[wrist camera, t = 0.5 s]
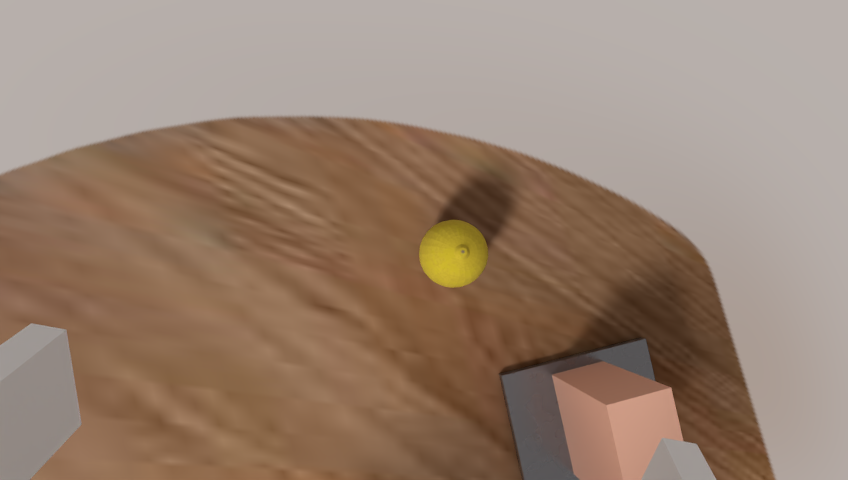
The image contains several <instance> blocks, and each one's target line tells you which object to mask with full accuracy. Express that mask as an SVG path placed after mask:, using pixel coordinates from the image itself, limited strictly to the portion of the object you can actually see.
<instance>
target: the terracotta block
mask: <svg viewBox="0 0 848 480" xmlns="http://www.w3.org/2000/svg"><path fill="white" fill-rule="evenodd" d="M552 378H553V383H554V387H555V392H556V396H557V400H558V405H559V409H560V414H561V418H562V423H563V427H564V432H565V436H566V441H567V445H568V450H569V454H570V459H571V463H572V468H573V472H574V475H575V476H576V477H577V478H579V479H580V480H641V479H642V477H643V475H644V473H645V471H646V469H647V467H648V465H649V463H650V461H651V459H652V457H653V455H654V453H655V451H656V449H657V447H658V445H659V443H660V441H661V439H662V438H667V439H673V440H678V441H683V437H682V432H681V428H680V424H679V419H678V415H677V411H676V406H675V402H674V398H673V393H672V389H671V387H669V386H666V385H663V384H661V383H658V382H656V381H653V380H651V379H648V378H645V377H643V376H640V375H638V374H635V373H632V372H630V371H627V370H625V369H622V368H620V367H617V366H614V365H612V364H609V363H607V362H604V361H602V362H598V363H594V364H590V365H586V366H583V367H579V368H575V369H571V370H567V371H563V372H560V373H556V374H552Z"/></svg>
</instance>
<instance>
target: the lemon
mask: <svg viewBox="0 0 848 480" xmlns="http://www.w3.org/2000/svg"><path fill="white" fill-rule="evenodd" d="M419 257H420V263H421V266H422V268H423V270H424V272H425V273H426V274H427V276H428V277H429V278H430V279H431V280H433V281H434V282H435V283H437V284H440V285H442V286H445V287H451V288H453V287H462V286H465V285H467V284H470V283H471V282H473V281H474V280H476V279H477V278H478V277H479V276H480V274H481V273H482V272H483V270H484V268H485V266H486V263H487V259H488V248H487V244H486V241H485V239H484V237H483V235H482V234H481V232H480V231H479V230H478V229H477V228H476V227H474V226H472V225H471V224H469V223H467V222H464V221H461V220H448V221H443V222H440V223H438V224H436V225H434V226H433V227H432V228H431V229H430V230H429V231H427V233H426V234H425V236H424V237H423V239H422V242H421V245H420V250H419Z"/></svg>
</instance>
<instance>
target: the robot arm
mask: <svg viewBox="0 0 848 480" xmlns="http://www.w3.org/2000/svg"><path fill="white" fill-rule="evenodd" d="M80 425H81V418H80V412H79V405H78V399H77V393H76V387H75V381H74V374H73V368H72V362H71V356H70V350H69V343H68V337H67V331H66V330H65V329H60V328H54V327H48V326H43V325H37V324H32V323H31V324H30V325H28V326H27V327H26V328H24V329H23V330H21V331H20V332H19V333H17V334H16V335H14V336H13V337H11V338H10V339H9V340H7V341H6V342H4V343H3V344H2V345H0V480H30V479H31V478H32V477H33V476H34V475H35V474H36V472H37V471H38V470H39V469H40V468H41V467H42V466H43V465H44V464H45V463H46V462H47V461H48V460H49V459H50V457H51V456H52V455H53V454H54V453H55V452H56V451H57V450H58V449H59V448H60V447H61V446H62V445H63V444H64V443H65V441H66V440H67V439H68V438H69V437H70V436H71V435H72V434H73V433H74V432H75V431H76V430H77V429H78V428H79V427H80ZM641 480H716V478H715V476H714V475H713V473H712V471H711V469H710V467H709V465H708V464H707V462H706V460H705V458H704V456H703V455H702V453H701V451H700V449H699V447H698V445H697V444H695V443H689V442H684V441H678V440H673V439H667V438H662V439H661V441H660V443H659V445H658V447H657V449H656V451H655V453H654V455H653V457H652V459H651V461H650V463H649V465H648V467H647V469H646V471H645V473H644V475H643V477H642V479H641Z"/></svg>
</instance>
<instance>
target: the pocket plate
mask: <svg viewBox="0 0 848 480" xmlns="http://www.w3.org/2000/svg"><path fill="white" fill-rule="evenodd" d="M602 361H604V362H607V363H609V364H612V365H614V366H617V367H620V368H622V369H625V370H627V371H630V372H632V373H635V374H638V375H640V376H643V377H645V378H648V379H651V380H653V381H655V377H654V373H653V368H652V364H651V360H650V355H649V351H648V346H647V342H646V339H645V338H637V339H633V340H629V341H625V342H621V343H617V344H614V345H610V346H606V347H602V348H598V349H594V350H590V351H586V352H582V353H579V354H575V355H571V356H567V357H563V358H559V359H555V360H551V361H547V362H544V363H540V364H536V365H532V366H528V367H524V368H520V369H516V370H512V371H509V372H505V373H501V374H499V376H500V380H501V385H502V389H503V394H504V398H505V403H506V407H507V412H508V417H509V421H510V426H511V430H512V435H513V439H514V444H515V448H516V453H517V457H518V462H519V466H520V471H521V475H522V480H580V479H579V478H577V477H576V476H575V475H574V472H573V468H572V463H571V459H570V454H569V450H568V445H567V441H566V436H565V432H564V427H563V423H562V418H561V414H560V409H559V405H558V400H557V396H556V392H555V387H554V383H553V378H552V374H556V373H560V372H563V371H567V370H571V369H575V368H579V367H583V366H586V365H590V364H594V363H598V362H602Z"/></svg>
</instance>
